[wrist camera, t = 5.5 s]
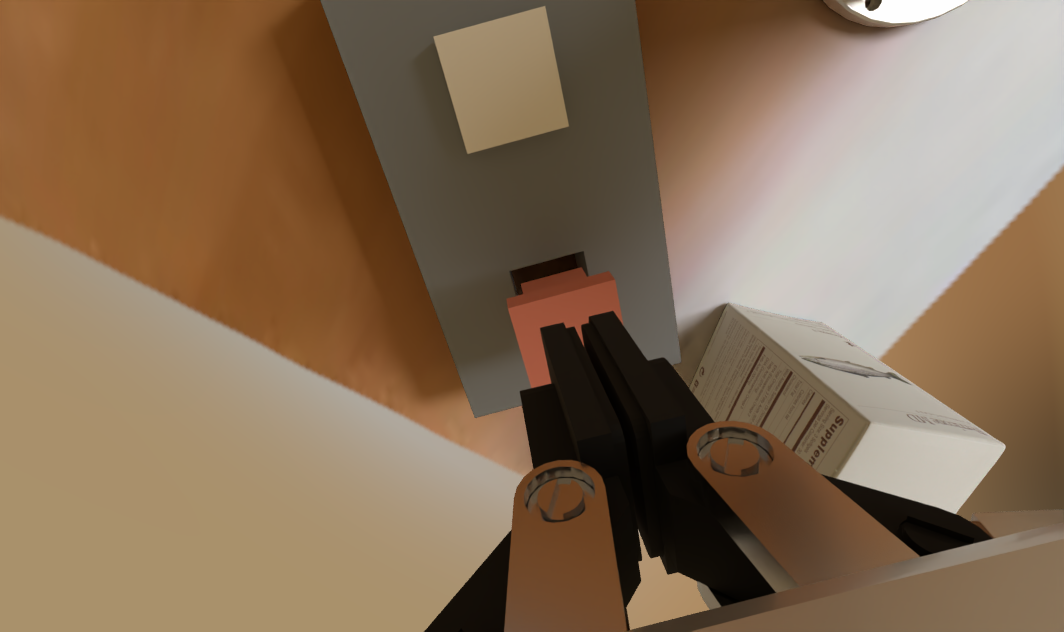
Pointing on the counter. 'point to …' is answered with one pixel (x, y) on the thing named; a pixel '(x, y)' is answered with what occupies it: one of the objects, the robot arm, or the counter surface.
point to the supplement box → (840, 408)
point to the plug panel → (515, 175)
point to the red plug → (558, 312)
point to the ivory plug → (503, 79)
